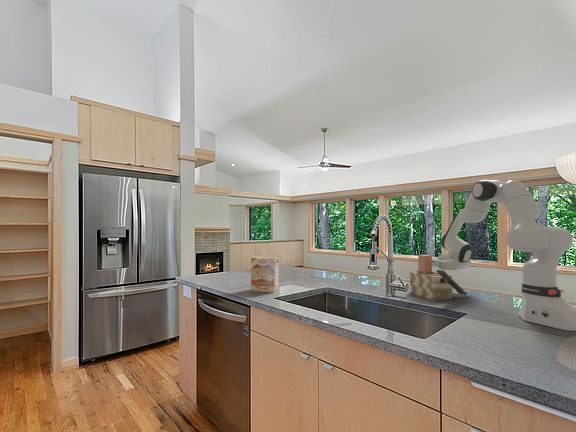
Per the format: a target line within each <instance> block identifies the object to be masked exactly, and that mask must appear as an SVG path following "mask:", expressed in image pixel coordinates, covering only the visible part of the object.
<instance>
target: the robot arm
mask: <svg viewBox="0 0 576 432" xmlns="http://www.w3.org/2000/svg"><path fill="white" fill-rule="evenodd" d="M492 203H496V204H498V203H500V204H501V203H503V205H504V207H505V209H506V211H507V213H508V215H509V217H510V221H511V227H510V229H509V230H508V231H507V232H506V235H505V241H506V244H507V246H508V247H509V249H511V250H513V251H518V252H522V253H532V256H531V257H530V259H529V260H527V261H526V262H524V264H522V282H521V294H522V296H521V303H520V305H521V306H520V308H519V312H518V316H519V317H520V319H521V320H522V321H526V322H528V323H529V322H530V323H533V324H534V323H535V324H538V325H542V326H546V327H551V328H554V329H558V330H559V329H560V330H563V331H569V332H571V331H573V332H574V331H575V332H576V307H575V306H573V305H572V304H571V303H570V302H568V301H567V300H566V299H565V298H564V297H562V294H561V293H563V294H564V291H565V289H560V288H559V287H558V286H557V269H558V265H559V262H560V260H561V257H562V256H563V254H564V253H565V252H567V251H568V250H569V249H570V248H571V247H572V245H573V243H574V238H573V235H572V234H571V232H570V231H569V230H568V229H566V228H563V227H558V226H553V225H552V226H541V225H538V224H537V222H536V221H537V219H538V218H539V216H540V215H541V209H540V207H539V206H538V204H537V202H536V200H535V198H534V196H533V195H532V193H531V192H530V190H529V189H528V188H527V186H526V185H525V184H524V183H523V182H522V181H519V180H516V179H512V180H508V181H503V180H497V179H496V180H495V179H492V180H491V179H490V180H488V179H482V180H478V181H476V182H474V184H473V187H472V188H471V193H470V195H469V197H468V199H467V201H466V202H465V205H464V208H463V209H461V210H459V211H458V212H457V213H456V215H455V216H454V217H453V219H452V221H451V223H450V225H449V227H448V229H447V231H446V232H445V234H444V235H443V236H442V237H441V240H440V244H441V245H440V246H441V247H442V248H443V249H445V250H447V251H448V252H450V254H441V255H438V256H437V258H434V257H432V262H431V263H430V265H431V266H432V267H434V268H435V267H436V268H438V269H439V270H441V271H457V270H464V269H467V268H469V267H470V266H471V264H472V259H471V258H472V255H473V252H474V251H473V246H472V245H471V244H470V243H469V242H468V241H465V240H463V239H461V238H460V237H459V235H458V234H459V232H460V230H461V229H462V227H463V226H464V225H463V224H465V223H467V224H477V223H478V224H479V223H480V222H483V221H484V220H485V219H486V217H487V214H488V212H489V210H490V207H491V204H492Z"/></svg>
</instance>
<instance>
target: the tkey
mask: <svg viewBox="0 0 576 432" xmlns="http://www.w3.org/2000/svg"><path fill="white" fill-rule="evenodd" d="M436 273H439V274H440V275H441V276H442V277H443V278H444V279H443V280H442V282H445V283H449V284H450V285H451V286H452V289H454V290H455V291H456V293H458V294H462V295H466V296H468V293H467V292H466V291H465V289H463V288H462V287H461V286H460V284H458V283H457V282H456V281H455V280H454V279H453V277H452V278H451V277H450V276H451V275H449V274H448V273H447V272H446V270H441V269H436Z"/></svg>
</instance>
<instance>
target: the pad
mask: <svg viewBox="0 0 576 432" xmlns="http://www.w3.org/2000/svg"><path fill="white" fill-rule="evenodd" d="M469 297H470V296H469V295H463V294H459V293H458V292H454V293H453V292H452V299H456V300H457V299H458V298H460V299H469Z"/></svg>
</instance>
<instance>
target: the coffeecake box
mask: <svg viewBox="0 0 576 432" xmlns="http://www.w3.org/2000/svg"><path fill="white" fill-rule="evenodd" d="M279 259H280V258H279V257H273V256H272V257H271V256H252V257H251V259H250V261H251V263H250V291H251V292H261V293H262V292H263V293H273V294H274V293H277V292H278V291H279V279H280V278H279V276H280V275H279V272H280V271H279V269H280V267H279V266H280V263H279Z"/></svg>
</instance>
